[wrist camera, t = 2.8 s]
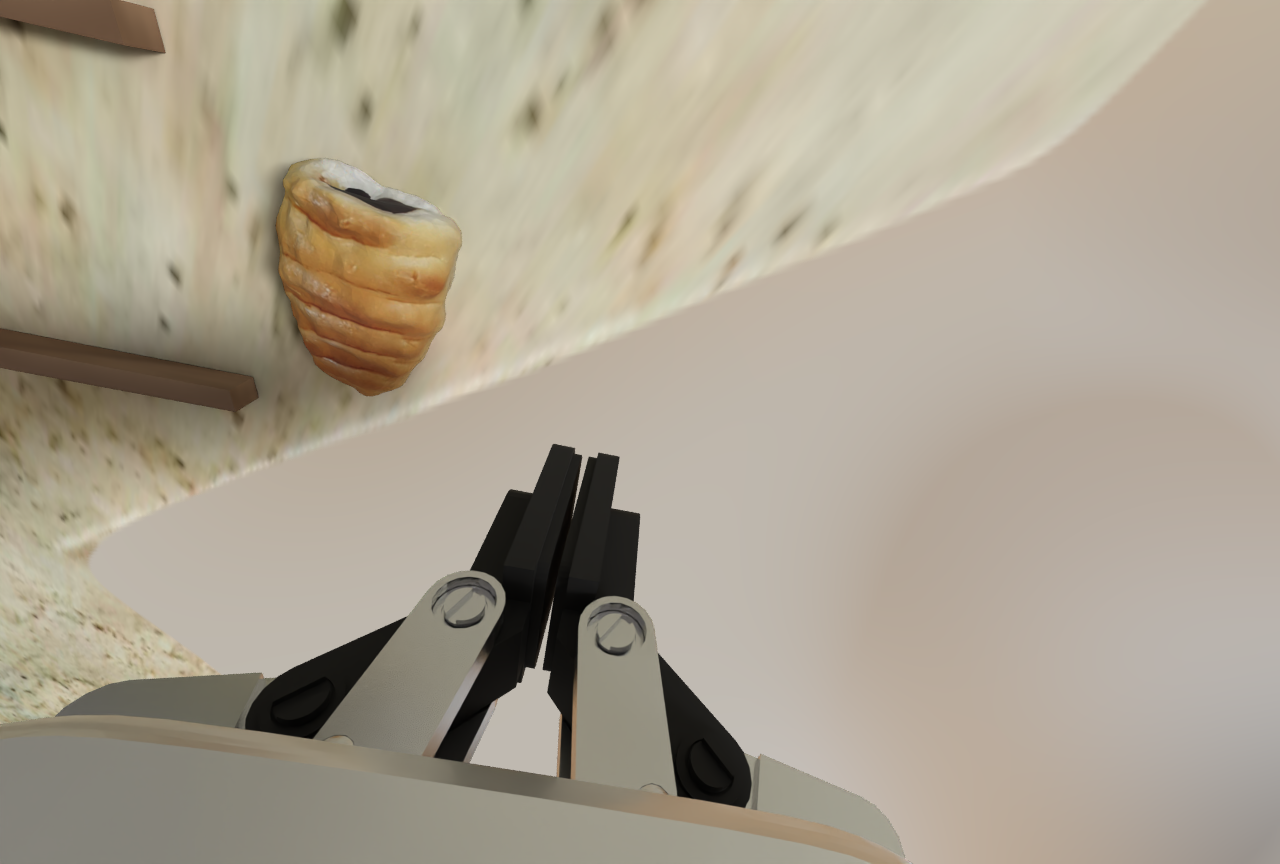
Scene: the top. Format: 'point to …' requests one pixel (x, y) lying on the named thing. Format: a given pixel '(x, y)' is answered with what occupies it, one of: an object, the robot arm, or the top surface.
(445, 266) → the pastry
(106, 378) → the bay
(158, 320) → the top surface
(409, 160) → the top surface
